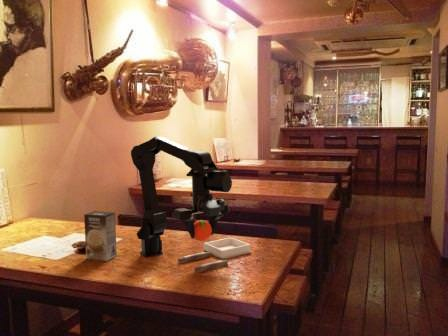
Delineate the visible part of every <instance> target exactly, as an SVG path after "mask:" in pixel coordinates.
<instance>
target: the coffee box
mask: <svg viewBox="0 0 448 336" xmlns="http://www.w3.org/2000/svg"><path fill="white" fill-rule="evenodd" d="M83 219H84V241H85V259H86V260H94V261H103V262H104V261H105V262H108V261H110V260H111V259H114V258H116V257H117V256H118V255H117V253H118V252H117V227H116V226H117V225H116V212H113V211H101V210H93V211H90V212H88V213H85V214H83Z"/></svg>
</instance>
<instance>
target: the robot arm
mask: <svg viewBox="0 0 448 336" xmlns="http://www.w3.org/2000/svg"><path fill="white" fill-rule="evenodd" d="M161 151H162V152H164V153H166V154H167V155H170V156H172V157H175V158H176V159H179V160H181V161H182V162H184V164H185V166H187V167H188V168H189V169H190V170H189V171H188V172H187V173H186V176H187V177H191V182H192V183H191V189H192V192H190V197H192V204H191V205H190V209H187V208H185V207H181V208H175V209H174V210H173V212H172V218H173V219H174V220H178V221H182V222H183V224H184V226H185V228H186V229H187V231H188V234H189V236H190V238H191V239H192V240H194V239H195V238H194V223H195V222H196V219H195V218H194V217H193V216H198V215H205V216H206V217H207V219H208V221H207V222H208V223H209V224H210V225H211V228H212V233H211V235H210V236H213V235H214V232H215V230H216V226H217V224H218V221H219V219H220V218H222V217H224V215H225V214H229V213H230V206H229V204H227V203H225V200H224V199H223V198H219V199H214V197H213V193H211V192H217V193H218V192H219V193H230V191H231V189H232V186H233V180H232V178H231V176H230V175H229V171H228V170H219V168H218V166H217V165H216V163H215V162H214V161H213V158H212V154H211V153H210V152H208V151H205V150H200V149H191V148H188V147H186V146H184V145H181V144H180V143H177V142H175V141H172V140H169V139H168V138H166V137H164V136H153V137H152V138H151V139H149V140H146V141H145V142H143V143H142V142H141V143H140V144H138V145H135V146H133V147H132V149H131V150H130V156H131V160H132V163H133V165H134V166H135V168H136V169H137V171H138V173H139V180H140V181H139V182H140V186H141V193H142V200H143V205H144V206H143V207H144V213H143V215H142V219H141V225H142V226H141V227H140V228H139V230H138V231H136V237H137V239H139V240H140V242H141V245H140V246H141V251H140V252H139V254H141V255H143V256H144V257H146V258H150V257H153V256H159V255H163V254H164V251H163V240H162V238H161V236H163V235H164V233H165V230H166V228H167V224H168V219H167V213H166V211H162V210H161V209H160V206H159V201H158V195H157V187H156V181H155V176H154V166H155V163H156V155H158V154H159V153H160V152H161Z"/></svg>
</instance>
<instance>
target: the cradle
mask: <svg viewBox="0 0 448 336" xmlns="http://www.w3.org/2000/svg"><path fill="white" fill-rule="evenodd" d="M210 257H211V254H210V252H205V251H201V252H197V253H192V254H189V255H183V256H182V257H178V258H177V261H178V262H177V263H178V264H185V263H189V262H194V261H197V260H202V259H206V258H210ZM225 266H226V267H227V266H228V260H227V259H221V260H217V261H212V262H208V263H203V264H200V265H199V266H195V267H194V273H195V274H198V273H202V272H205V271H209V270H214V269H217V268H222V267H225Z"/></svg>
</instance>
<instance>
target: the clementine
mask: <svg viewBox="0 0 448 336" xmlns="http://www.w3.org/2000/svg"><path fill="white" fill-rule="evenodd" d="M211 233H212V228H211V225H210V224H209V221H207V220H204V219H199V220H195V222H194V239H195V240H196V241H197V242H198V241H199V242H205V241H207V240H208V239H209V238H210V237H211V236H212V235H211Z"/></svg>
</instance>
